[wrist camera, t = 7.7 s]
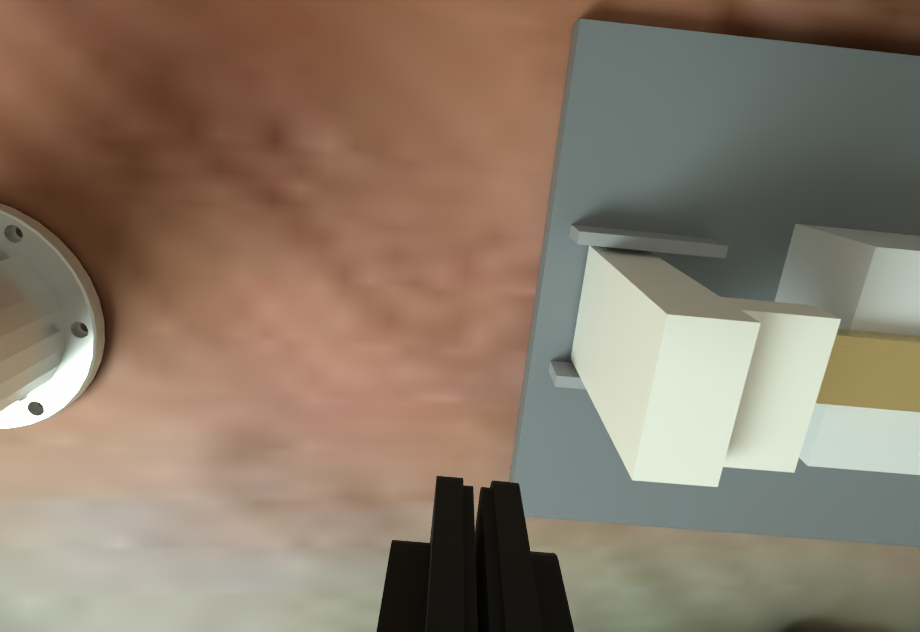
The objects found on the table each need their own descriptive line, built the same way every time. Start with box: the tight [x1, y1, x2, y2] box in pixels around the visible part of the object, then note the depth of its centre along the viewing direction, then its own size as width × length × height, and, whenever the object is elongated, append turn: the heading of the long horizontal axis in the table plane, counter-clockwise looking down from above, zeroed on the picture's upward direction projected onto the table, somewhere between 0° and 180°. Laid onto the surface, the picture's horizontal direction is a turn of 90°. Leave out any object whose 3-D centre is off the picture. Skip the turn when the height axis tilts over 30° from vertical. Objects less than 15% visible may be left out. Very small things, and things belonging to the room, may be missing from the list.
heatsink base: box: [509, 19, 920, 547], centre depth 28 cm, size 31×26×10 cm
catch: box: [571, 245, 841, 487], centre depth 25 cm, size 6×6×11 cm
